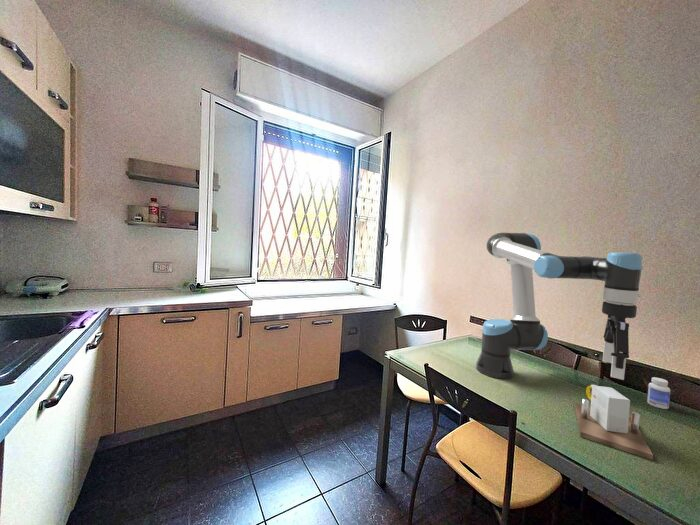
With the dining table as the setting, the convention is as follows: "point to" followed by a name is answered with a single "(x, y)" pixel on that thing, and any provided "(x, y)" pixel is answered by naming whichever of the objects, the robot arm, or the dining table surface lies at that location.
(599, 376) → the dining table surface
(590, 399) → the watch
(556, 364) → the dining table surface
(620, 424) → the small box
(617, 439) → the pin tray
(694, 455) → the dining table surface
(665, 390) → the pill bottle
